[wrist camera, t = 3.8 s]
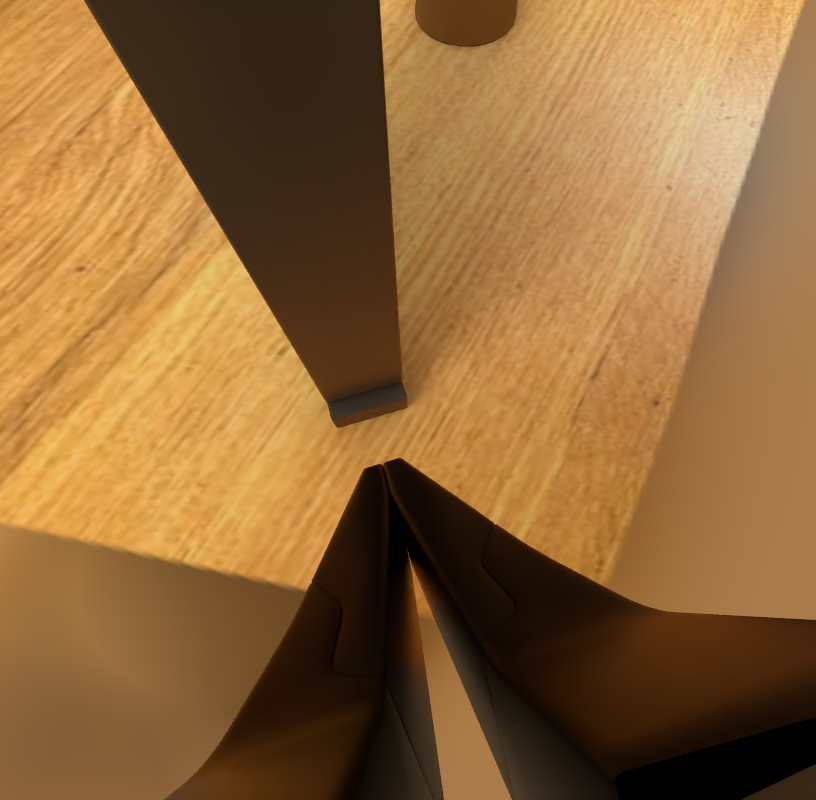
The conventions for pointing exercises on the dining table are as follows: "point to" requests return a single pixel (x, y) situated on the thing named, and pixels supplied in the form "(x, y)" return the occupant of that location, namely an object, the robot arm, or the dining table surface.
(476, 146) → the dining table surface
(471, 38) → the wooden game pawn
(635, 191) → the dining table surface
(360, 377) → the door
